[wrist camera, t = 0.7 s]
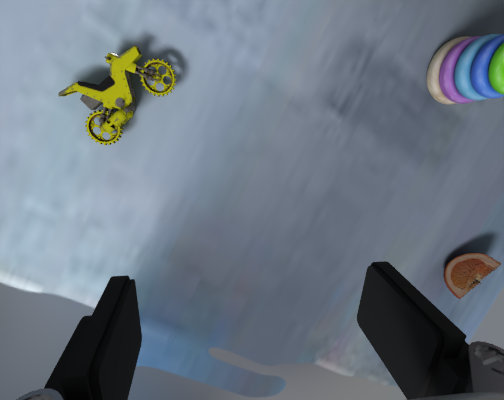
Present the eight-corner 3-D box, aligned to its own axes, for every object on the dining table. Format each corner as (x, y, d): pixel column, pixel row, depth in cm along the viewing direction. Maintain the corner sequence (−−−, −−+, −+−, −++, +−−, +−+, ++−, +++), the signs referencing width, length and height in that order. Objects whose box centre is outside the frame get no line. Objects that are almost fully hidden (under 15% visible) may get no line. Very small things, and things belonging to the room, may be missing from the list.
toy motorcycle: (100, 154, 31) (43, 101, 29) (111, 148, 35) (61, 101, 32) (182, 80, 30) (130, 17, 27) (184, 81, 33) (139, 26, 31)
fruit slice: (467, 238, 48) (494, 253, 44) (483, 259, 51) (511, 276, 46) (428, 270, 50) (450, 289, 45) (445, 290, 52) (469, 310, 48)
